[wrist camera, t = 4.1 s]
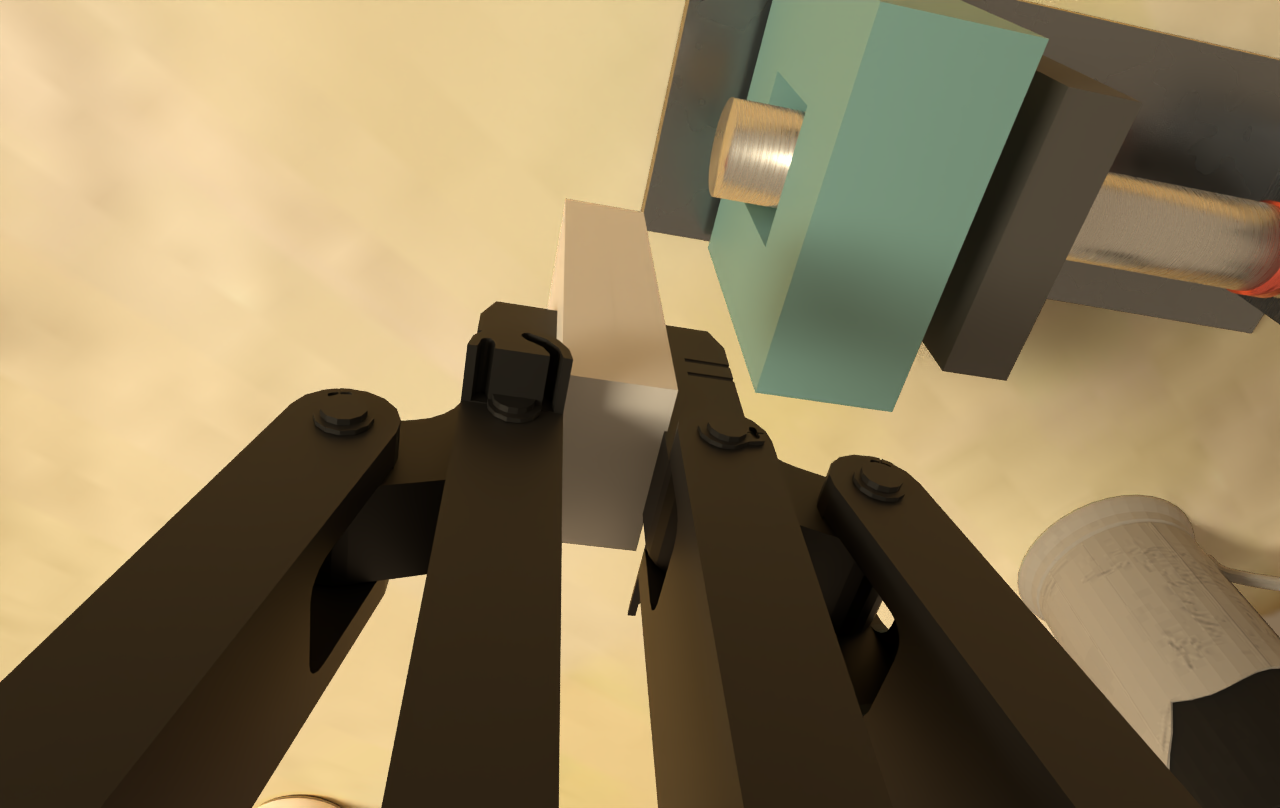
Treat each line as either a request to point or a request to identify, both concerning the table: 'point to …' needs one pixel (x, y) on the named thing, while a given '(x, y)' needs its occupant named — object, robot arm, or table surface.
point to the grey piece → (1126, 204)
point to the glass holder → (1166, 642)
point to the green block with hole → (866, 187)
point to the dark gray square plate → (1028, 219)
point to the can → (298, 802)
